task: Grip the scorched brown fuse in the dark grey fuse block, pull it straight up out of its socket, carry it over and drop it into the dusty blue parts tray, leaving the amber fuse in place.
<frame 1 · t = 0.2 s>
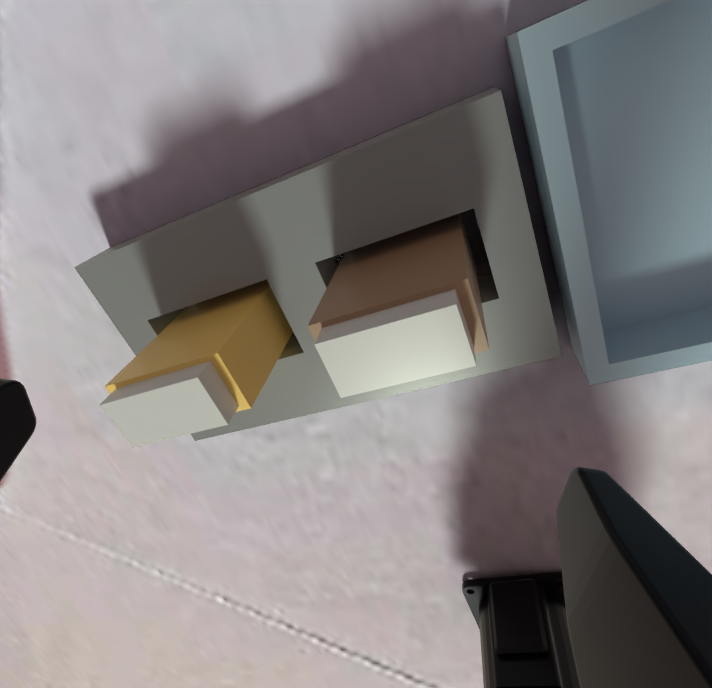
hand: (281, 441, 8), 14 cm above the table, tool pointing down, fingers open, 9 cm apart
fuse block: (322, 285, 22), on the table
blown fuse: (409, 257, 20), resting in fuse block
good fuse: (245, 310, 23), resting in fuse block
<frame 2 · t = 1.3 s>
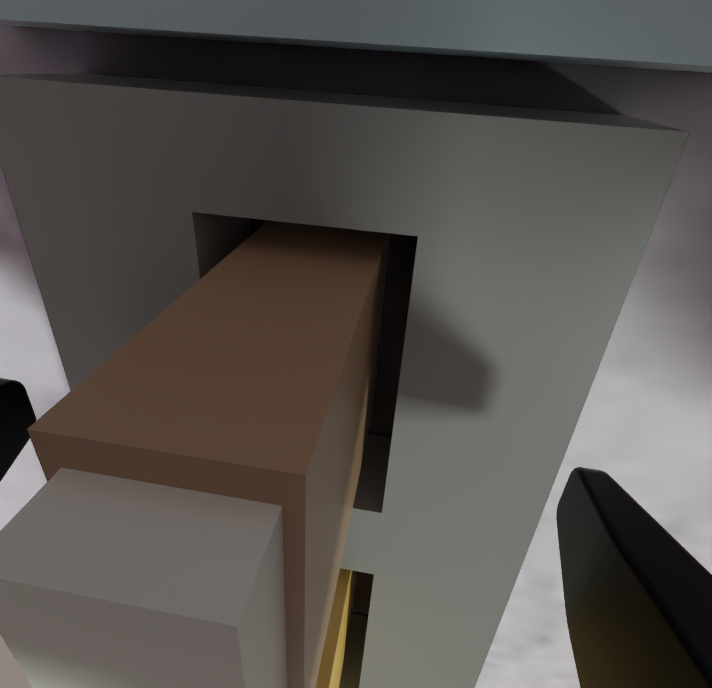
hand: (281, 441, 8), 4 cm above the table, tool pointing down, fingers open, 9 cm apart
fuse block: (324, 456, 13), on the table
blown fuse: (329, 323, 11), resting in fuse block
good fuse: (321, 550, 15), resting in fuse block
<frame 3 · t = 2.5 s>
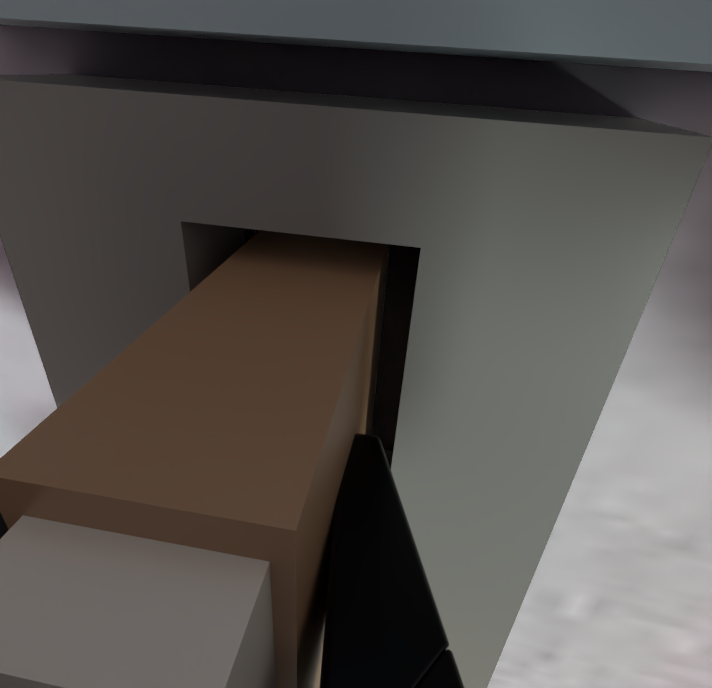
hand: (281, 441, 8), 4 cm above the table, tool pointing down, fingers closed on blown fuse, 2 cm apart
fuse block: (322, 470, 13), on the table
blown fuse: (327, 335, 11), resting in fuse block, touching gripper
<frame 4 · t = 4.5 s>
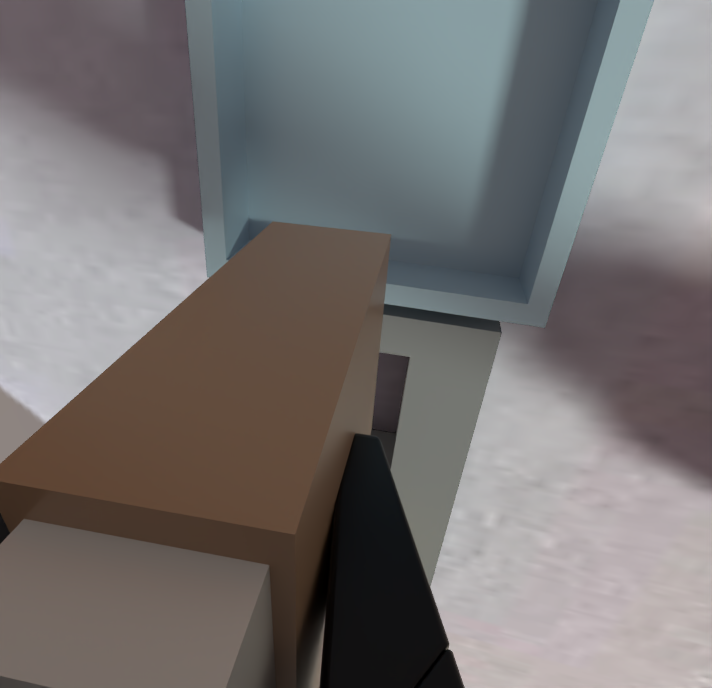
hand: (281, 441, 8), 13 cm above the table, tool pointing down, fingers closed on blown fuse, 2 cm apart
fuse block: (359, 443, 25), on the table
parts tray: (399, 105, 17), on the table
blown fuse: (327, 336, 11), point 10 cm above the table, touching gripper
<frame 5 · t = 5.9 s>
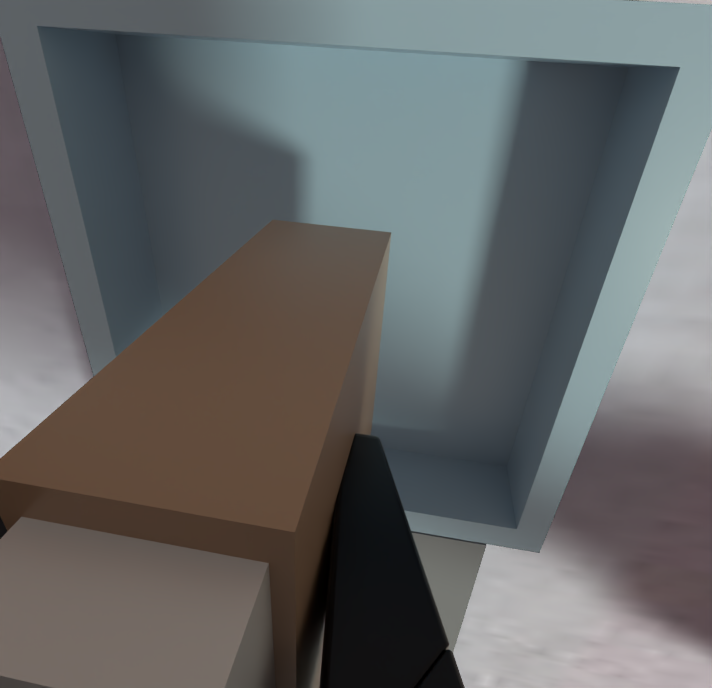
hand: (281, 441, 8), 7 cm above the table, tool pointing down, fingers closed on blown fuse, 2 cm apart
fuse block: (331, 605, 22), on the table
parts tray: (348, 279, 13), on the table
blown fuse: (327, 335, 11), point 3 cm above the table, touching gripper
when the fingers open (6 cm above the table, at t = 6.8 s): blown fuse drops 1 cm, resting on parts tray.
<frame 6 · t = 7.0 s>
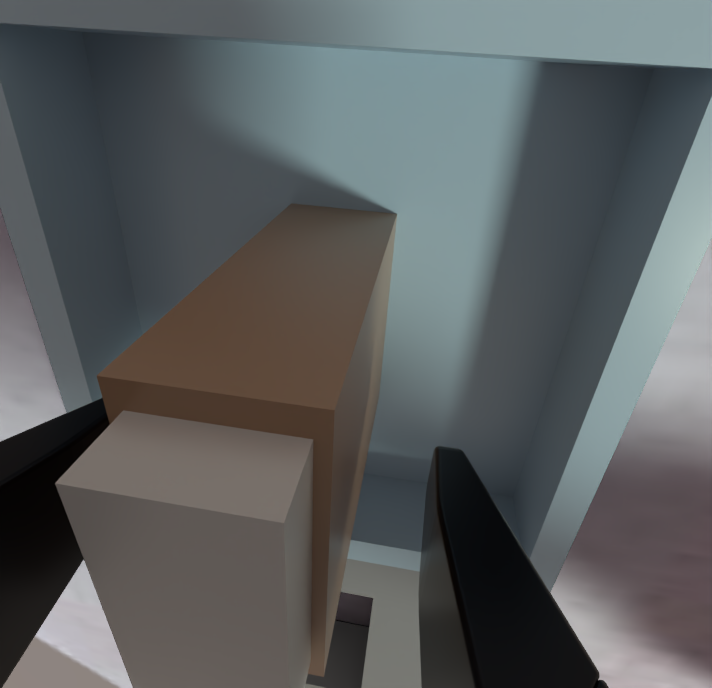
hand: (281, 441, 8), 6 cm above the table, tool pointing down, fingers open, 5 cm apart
fuse block: (326, 633, 20), on the table
parts tray: (342, 298, 12), on the table
blown fuse: (339, 309, 12), point 1 cm above the table, touching parts tray
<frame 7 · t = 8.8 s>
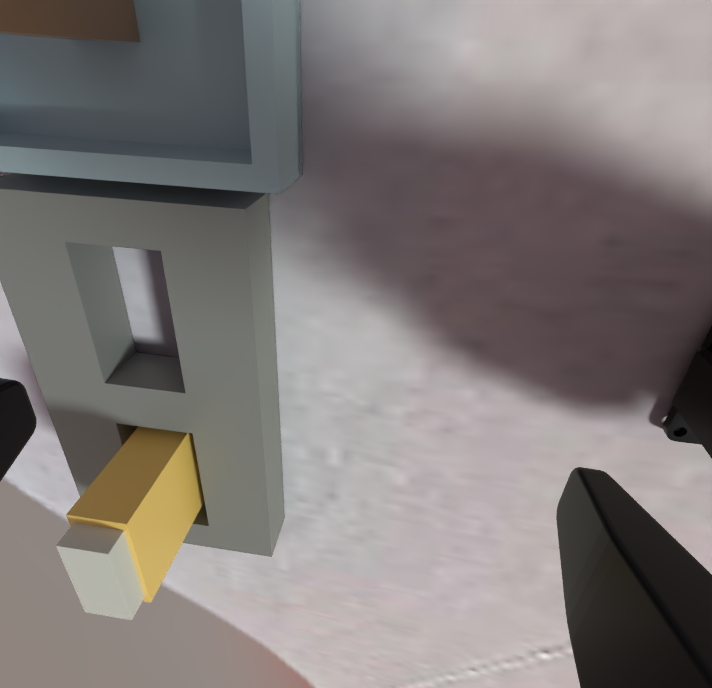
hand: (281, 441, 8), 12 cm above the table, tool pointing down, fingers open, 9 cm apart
fuse block: (176, 376, 23), on the table
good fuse: (188, 441, 25), resting in fuse block
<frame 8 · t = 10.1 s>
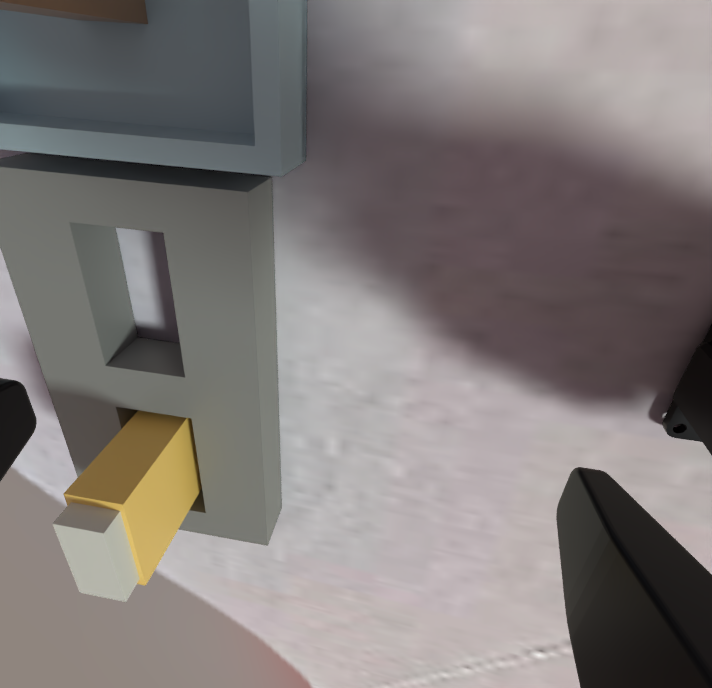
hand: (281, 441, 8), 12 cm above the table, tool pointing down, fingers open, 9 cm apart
fuse block: (176, 362, 23), on the table
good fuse: (188, 428, 25), resting in fuse block
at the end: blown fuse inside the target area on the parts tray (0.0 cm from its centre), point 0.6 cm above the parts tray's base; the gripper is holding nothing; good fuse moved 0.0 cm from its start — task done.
